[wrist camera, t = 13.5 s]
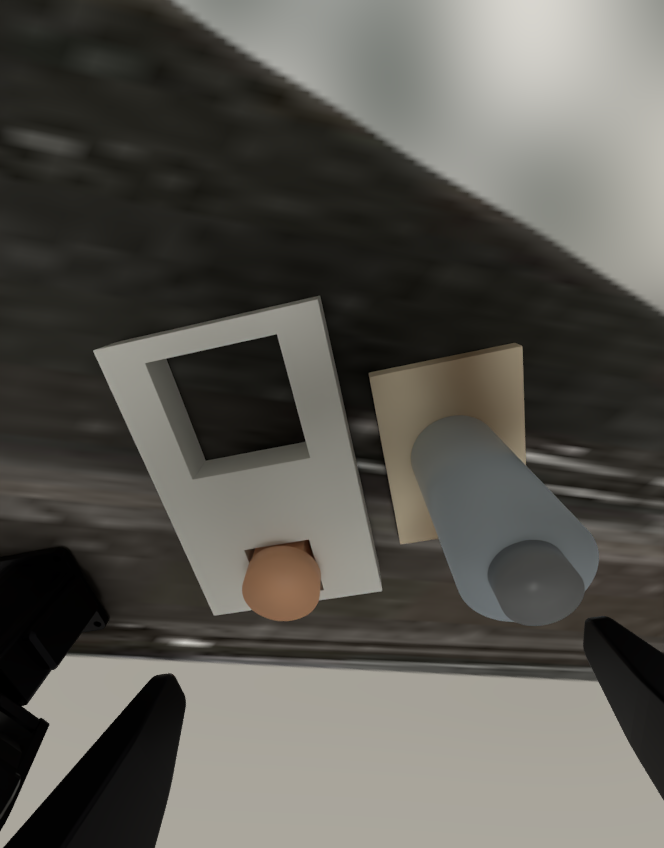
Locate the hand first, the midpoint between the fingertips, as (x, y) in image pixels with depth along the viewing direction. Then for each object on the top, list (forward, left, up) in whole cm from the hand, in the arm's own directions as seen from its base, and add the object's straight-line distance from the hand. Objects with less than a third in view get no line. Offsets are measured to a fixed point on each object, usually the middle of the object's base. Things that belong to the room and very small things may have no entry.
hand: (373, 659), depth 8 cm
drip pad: (+5, -2, -13) cm, 14 cm away
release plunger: (-5, -7, -12) cm, 15 cm away
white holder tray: (-5, -1, -13) cm, 14 cm away
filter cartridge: (+5, -2, -12) cm, 13 cm away
